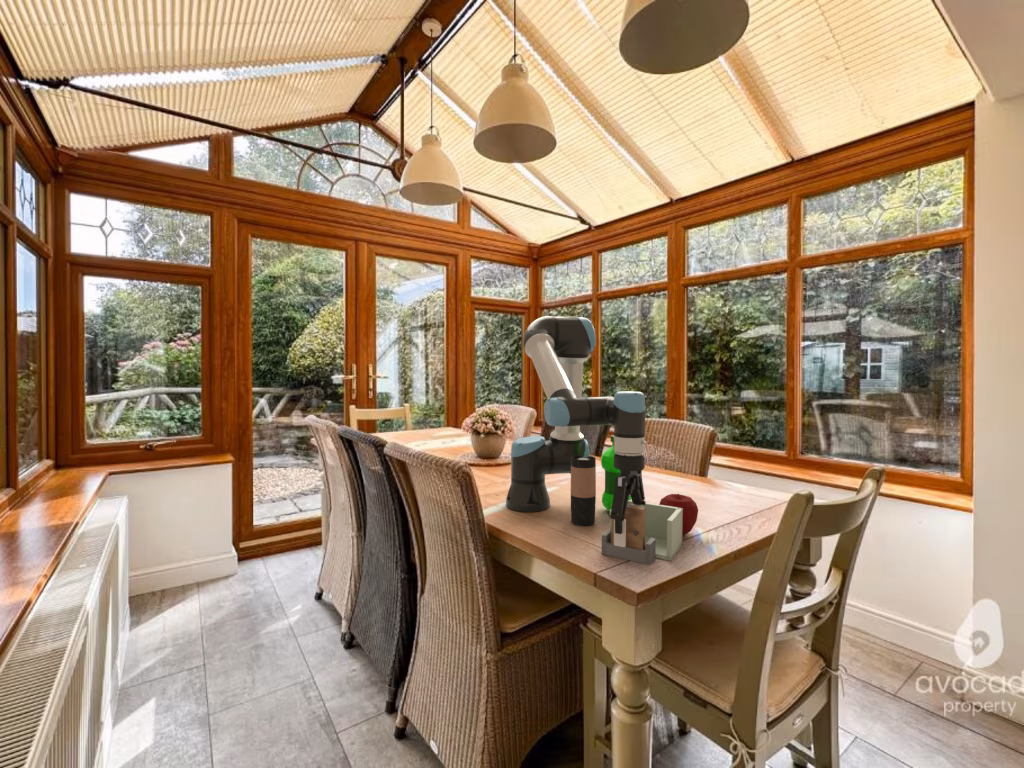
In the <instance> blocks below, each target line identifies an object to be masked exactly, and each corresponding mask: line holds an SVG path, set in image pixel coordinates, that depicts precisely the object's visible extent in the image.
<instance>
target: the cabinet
mask: <svg viewBox="0 0 1024 768" xmlns="http://www.w3.org/2000/svg"><path fill="white" fill-rule="evenodd" d="M631 504H634V503H632V499H631V500H628V505H631ZM641 506H642V507H645V550H641V549H636V548H631V547H620V546H615V545H614V544H612V543H611V519H610V518H609V529H607V530H606V531H605V532H604V533H602V534H601V555H603V556H608V557H613V558H616V559H617V558H618V559H621V560H622V559H623V560H626V561H630V562H631V561H632V562H636V563H640V564H645V565H649V566H651V565H652V564H653V562H654V561H655V559H660V560H665V561H671V562H672V561H673V560H674V558H675V556H676V555H677V553H678V552H679V551H680V550H681V548H682V546H683V536H682V532H683V508H678V507H671V506H665V505H659V504H657V503H652V502H646V504H645V505H641ZM610 515H611V510H610V512H609V516H610Z"/></svg>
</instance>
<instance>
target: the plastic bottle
mask: <svg viewBox="0 0 1024 768" xmlns="http://www.w3.org/2000/svg"><path fill="white" fill-rule="evenodd" d="M610 442H611V443H612V445H611V446H610V447H608V449H605V451H604V452H603V453H602V455H601V458H600V463H601V468H602V469H603V470H604V491H603V493H602V495H601V503H602V506H603V507H604V508H605V509H606V510H608V512H609V513H610V510H611V505H612V502H613V496H614V489H615V478H616V477H619V476H620V473H621V471H620V470H619V469H616V468H615V467H614V454H615V453H616V452H615V451H614V434H612V435H610ZM629 500H632V499H631V496H629Z"/></svg>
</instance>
